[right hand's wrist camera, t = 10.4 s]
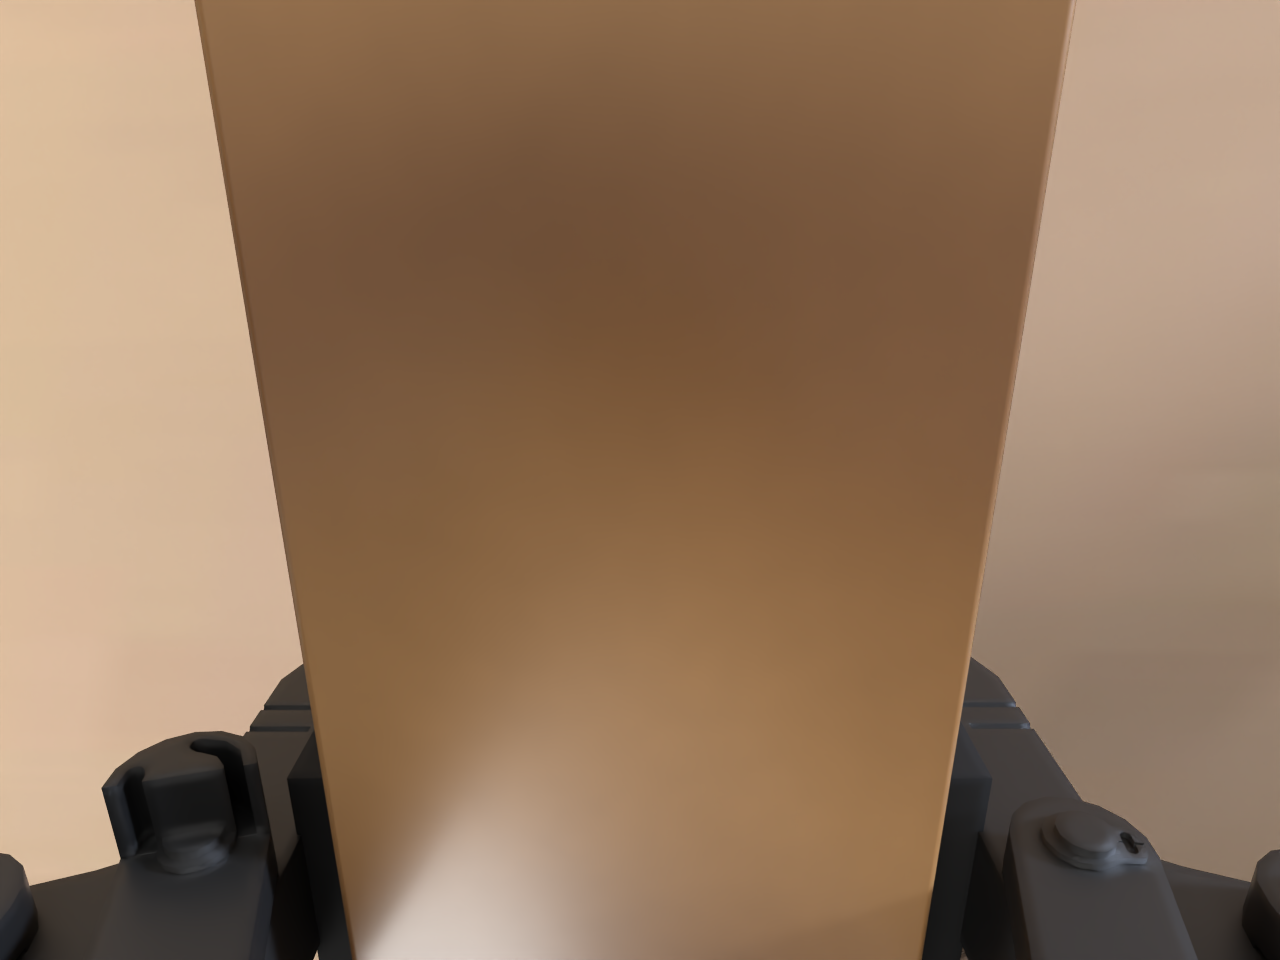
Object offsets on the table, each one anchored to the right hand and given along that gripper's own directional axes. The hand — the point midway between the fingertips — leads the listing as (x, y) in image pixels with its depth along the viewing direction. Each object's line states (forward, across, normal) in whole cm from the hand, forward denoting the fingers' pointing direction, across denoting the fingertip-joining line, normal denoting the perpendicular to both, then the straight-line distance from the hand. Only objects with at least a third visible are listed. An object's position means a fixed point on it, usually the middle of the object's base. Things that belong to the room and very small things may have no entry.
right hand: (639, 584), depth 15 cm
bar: (+1, 0, -10) cm, 10 cm away
